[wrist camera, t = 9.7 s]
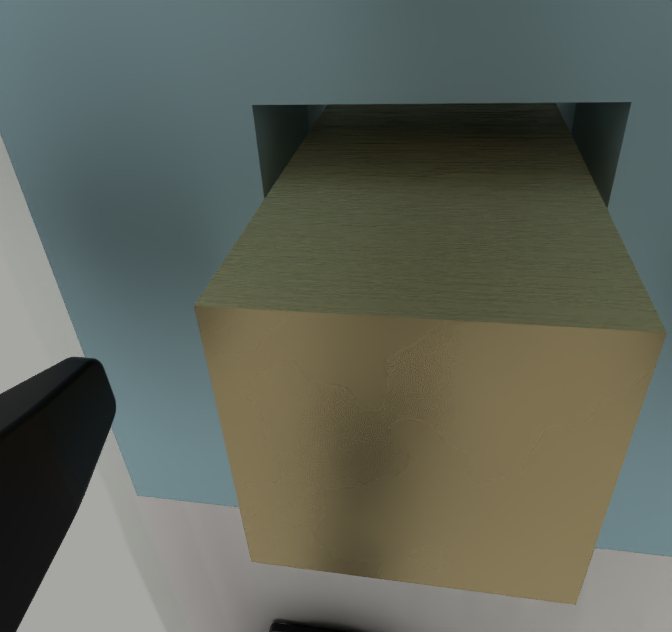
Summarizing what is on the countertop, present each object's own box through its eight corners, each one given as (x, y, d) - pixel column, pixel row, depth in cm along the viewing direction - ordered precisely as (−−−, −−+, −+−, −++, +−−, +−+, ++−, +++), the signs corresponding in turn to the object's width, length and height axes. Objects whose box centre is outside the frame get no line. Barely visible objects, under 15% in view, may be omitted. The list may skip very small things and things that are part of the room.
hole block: (683, 419, 18) (746, 565, 14) (199, 382, 21) (137, 495, 17) (969, -314, 9) (1365, -484, 5) (53, -213, 12) (-153, -272, 8)
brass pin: (520, 271, 15) (575, 604, 8) (345, 263, 16) (251, 562, 9) (548, 86, 13) (666, 332, 5) (337, 88, 13) (194, 305, 6)
